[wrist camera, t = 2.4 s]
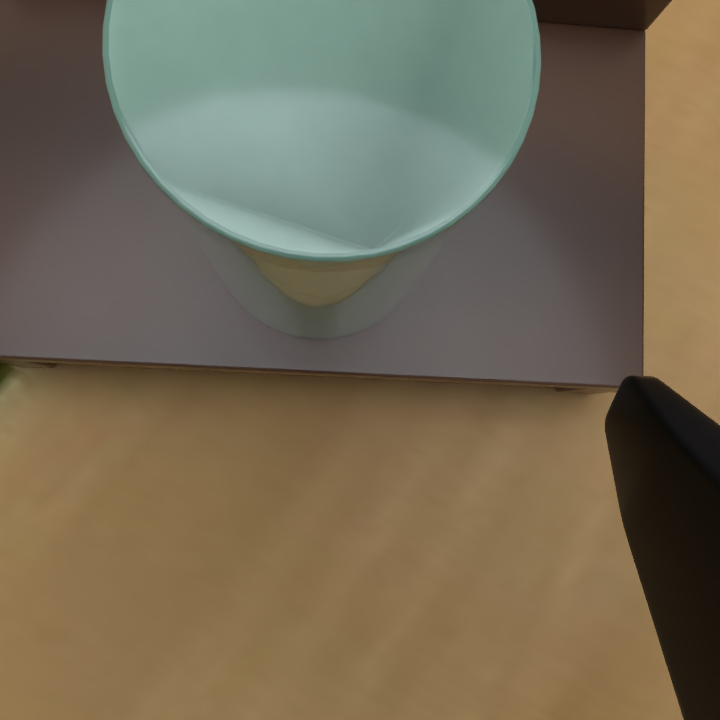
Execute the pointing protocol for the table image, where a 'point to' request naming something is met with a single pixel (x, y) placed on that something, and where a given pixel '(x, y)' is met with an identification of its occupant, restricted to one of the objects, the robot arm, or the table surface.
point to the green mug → (322, 137)
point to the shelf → (422, 304)
